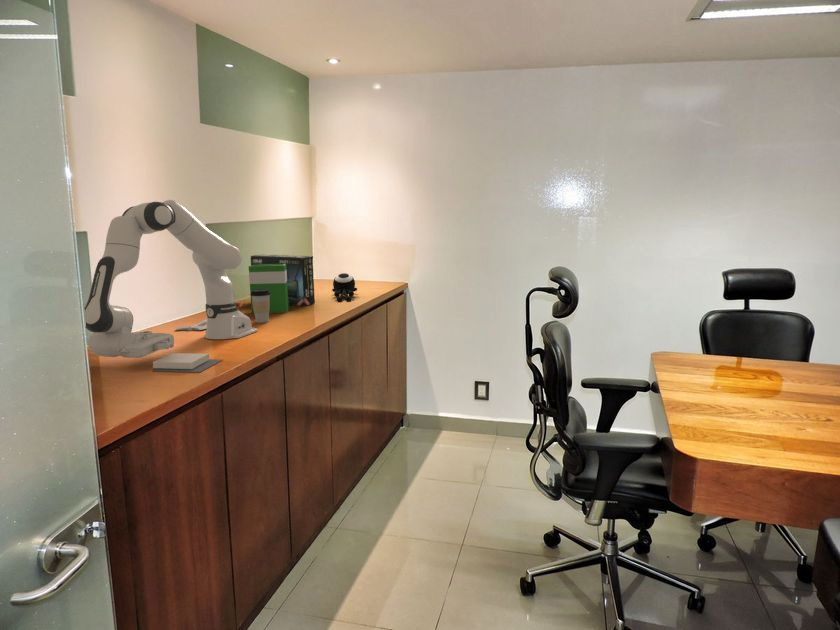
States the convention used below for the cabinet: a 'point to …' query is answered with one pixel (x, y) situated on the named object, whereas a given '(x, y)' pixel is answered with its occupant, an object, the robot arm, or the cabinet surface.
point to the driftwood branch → (194, 326)
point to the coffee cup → (261, 304)
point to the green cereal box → (271, 284)
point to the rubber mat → (194, 370)
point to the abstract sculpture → (344, 286)
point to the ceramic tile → (180, 361)
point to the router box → (293, 276)
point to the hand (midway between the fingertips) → (171, 345)
